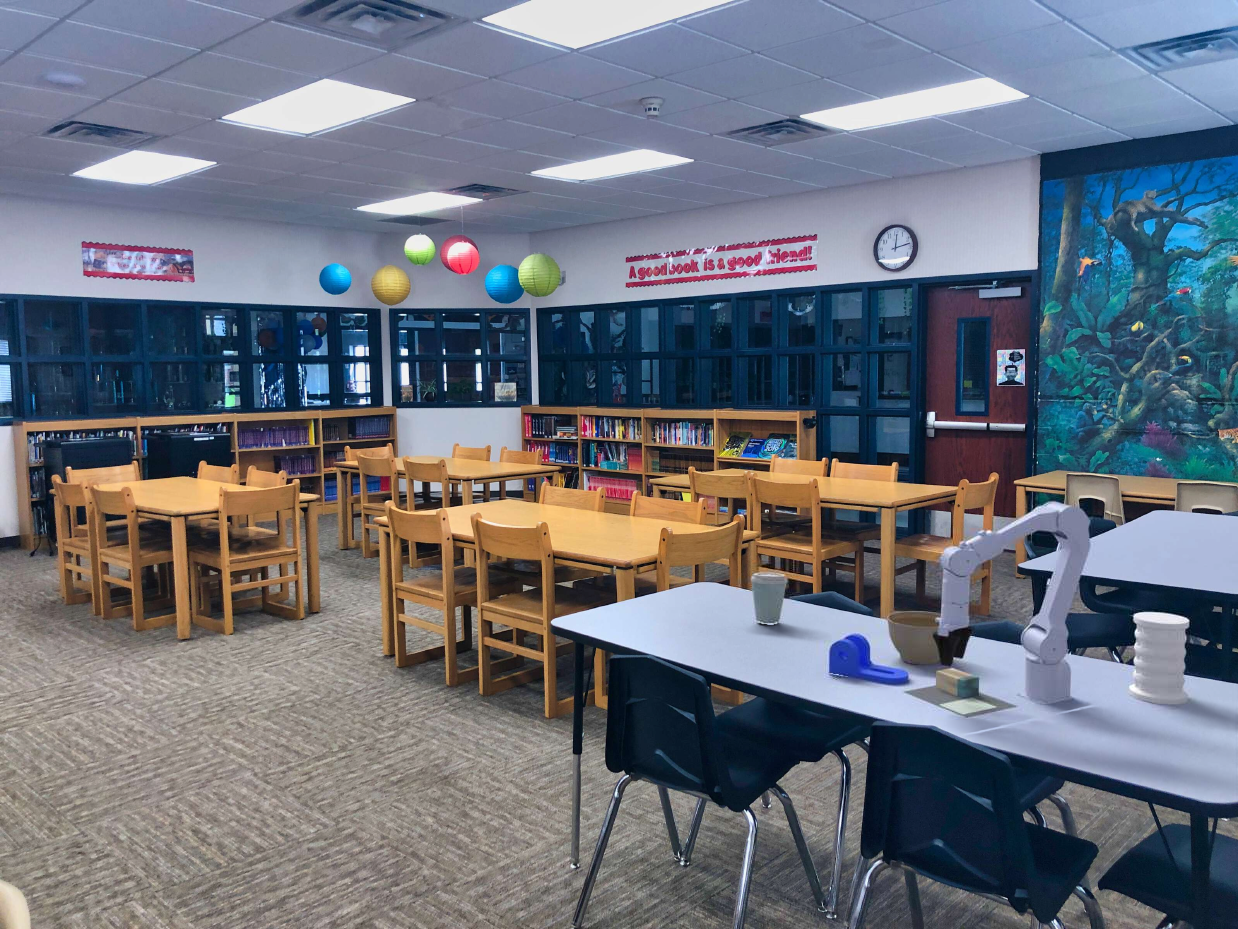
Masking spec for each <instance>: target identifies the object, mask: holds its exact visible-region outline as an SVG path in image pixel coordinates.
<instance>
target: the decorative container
mask: <svg viewBox="0 0 1238 929" xmlns="http://www.w3.org/2000/svg"><path fill="white" fill-rule="evenodd" d="M1133 623H1135V624H1136V629H1135V631H1134V637H1135V639H1136V640H1135V644H1134V645H1133V646H1134V647H1133V648H1134V652H1135V656H1134V658H1133V665H1134V666H1135V668H1134V670H1133V673H1132V676H1133V679H1134V683H1133V684H1131V685H1129V687H1128V694H1129V696H1130V697H1132V696H1133V698H1134V699H1136V698H1137V700H1138V701H1142V700H1143V701H1142V702H1145V701H1146V703H1150V702H1152V703H1151V704H1155V703H1158V704H1157V705H1163V704H1164V706H1165V705H1166V706H1178V705H1177V704H1179V705H1184V704H1186V703H1187V702H1188V701H1189V700H1188V696H1189V694H1188V692H1186V691H1185V690H1183V689H1184V685H1185V682H1186V680H1185V676H1184V672H1185V670H1186V663H1185V657H1186V655H1187V650H1186V648H1185V647H1186V646H1185V644H1186V642H1187V635H1186V630H1187V629H1188V628H1190V619H1188V618H1187V617H1185V616H1183V615H1182V616H1181V615H1177V614H1173V613H1166V612H1159V611H1158V612H1155V611H1143V612H1137V613H1134V614H1133ZM1187 700H1188V701H1187ZM1183 703H1184V704H1183Z"/></svg>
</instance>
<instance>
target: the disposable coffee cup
mask: <svg viewBox="0 0 1238 929" xmlns="http://www.w3.org/2000/svg"><path fill="white" fill-rule="evenodd" d="M750 581H751V588H752V596H753V604H754V615H755V620H756V622H757V621H760V622H763V623H775V622H778V621H779V620H781V614H782V608H783V603H784V598H785V593H786V592H785V591H786V588H787V583H788V577H786V574H783V573H777V572H755V573H753V574H752V575H751V577H750ZM779 622H780V621H779ZM779 622H778V623H779Z"/></svg>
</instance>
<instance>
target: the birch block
mask: <svg viewBox="0 0 1238 929" xmlns="http://www.w3.org/2000/svg"><path fill="white" fill-rule="evenodd" d="M935 685H936V688H937V689H940V690H942V691H945V692H948V693H950V694H953V695H955V696H958V697H960V698H966V697H971V696H976V695H979V692H980V677H979V676H976V675H973V674H970V673H968V672H964V671H961V670H959V669H956V668H953V667H951V668H945V669H941V670H936V672H935Z"/></svg>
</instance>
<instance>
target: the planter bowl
mask: <svg viewBox="0 0 1238 929" xmlns="http://www.w3.org/2000/svg"><path fill="white" fill-rule="evenodd" d="M938 617H940V618H941V613H939V612H931V611H923V610H921V611H917V610H912V611H909V610H907V611H898V612H893V613H890V614H889V615H887V617H886V619H887V625H888V626H887V628H888V634H889V637H890V640H891V642H892V644H893V647H894V648H895V650H896V651H897V652H898V654H899V656H900V660H901V659H902V660H901V661H903V662H905V661H906V662H905V663H908V662H910V663H909V664H911V663H912V665H932V664H937V663H939V662H940V657H939V651H938V647H937V644H936V642H935V640H934V638H933V632H935V631H937V632H938V626H940V623H939V622H935V619H936V618H938Z"/></svg>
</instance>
